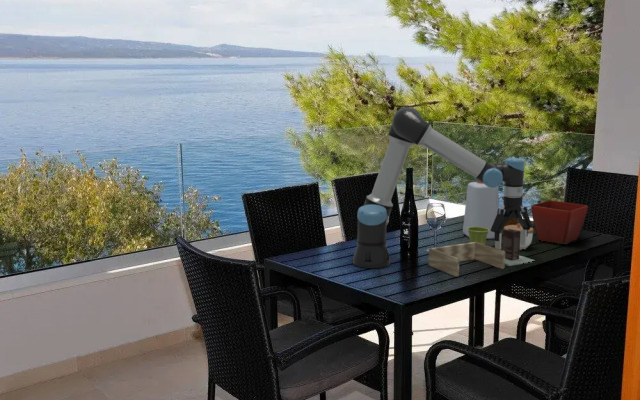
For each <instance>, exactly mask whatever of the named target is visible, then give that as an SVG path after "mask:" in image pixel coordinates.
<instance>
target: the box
mask: <svg viewBox="0 0 640 400" xmlns="http://www.w3.org/2000/svg"><path fill="white" fill-rule="evenodd" d="M502 231H503V232H502V245H501V249H502V251H505V258H506V259H510V260H517V259H519V255H520V251H521V250H520V232H521V231H517V230H513V229H504V230H503V229H502Z"/></svg>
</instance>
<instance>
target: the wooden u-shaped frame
mask: <svg viewBox="0 0 640 400" xmlns="http://www.w3.org/2000/svg"><path fill="white" fill-rule="evenodd" d="M471 260H473V261H474V260H476V261H479V262H482V263H484V264H487V265H491V266H493V267H496V268H498V269H501V270H504V268H505V267H506V265H505V251H502V250H501V249H497V248H495V247H493V246H489V245H486V244H485V245H484V244H481V243H478V242H472V243H470V242H466V243H459V244H452V245H451V244H450V245H445V246H437V247H432V248H428V266H429V267H432V268H434V269H437V270H439V271H441V272H444V273H447V274H449V275H452V276H454V277H459V276H460V262H465V261H471Z"/></svg>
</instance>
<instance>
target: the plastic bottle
mask: <svg viewBox="0 0 640 400" xmlns="http://www.w3.org/2000/svg"><path fill="white" fill-rule="evenodd" d="M466 189H467V190H466V198H465V207H464V209H465V210H464V217H463V226H462V233H463V235H466V237H468V238H470V237H469V232H468V228H469V227H483V228H487V229H489V231H488V234H487V237H486V240H491V239H492V240H493V239H494V236H495V233H494V232H492V231H491V228H492V225H493V223H494V220H495V218H496V216H497V211H498V209H500V204H499V203H500V200H499V199H500V198H499V191H500V190H499V186H498V187H495V188H490V187H488V186H486V185H485V184H484V183H483V182H481V181H473V182H472V181H471V182H469V183H467V187H466Z"/></svg>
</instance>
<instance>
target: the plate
mask: <svg viewBox="0 0 640 400" xmlns="http://www.w3.org/2000/svg"><path fill="white" fill-rule="evenodd" d="M532 261H535V259H532V258H529V257H525V256H523V255H520V254H519V259H517V260H510V259H506V258H505V266H508V267H512V266H517V265H518V266H519V265H522V264H523V263H524V264H529V263H528V262H530V263H533V262H532ZM535 262H536V261H535Z"/></svg>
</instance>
